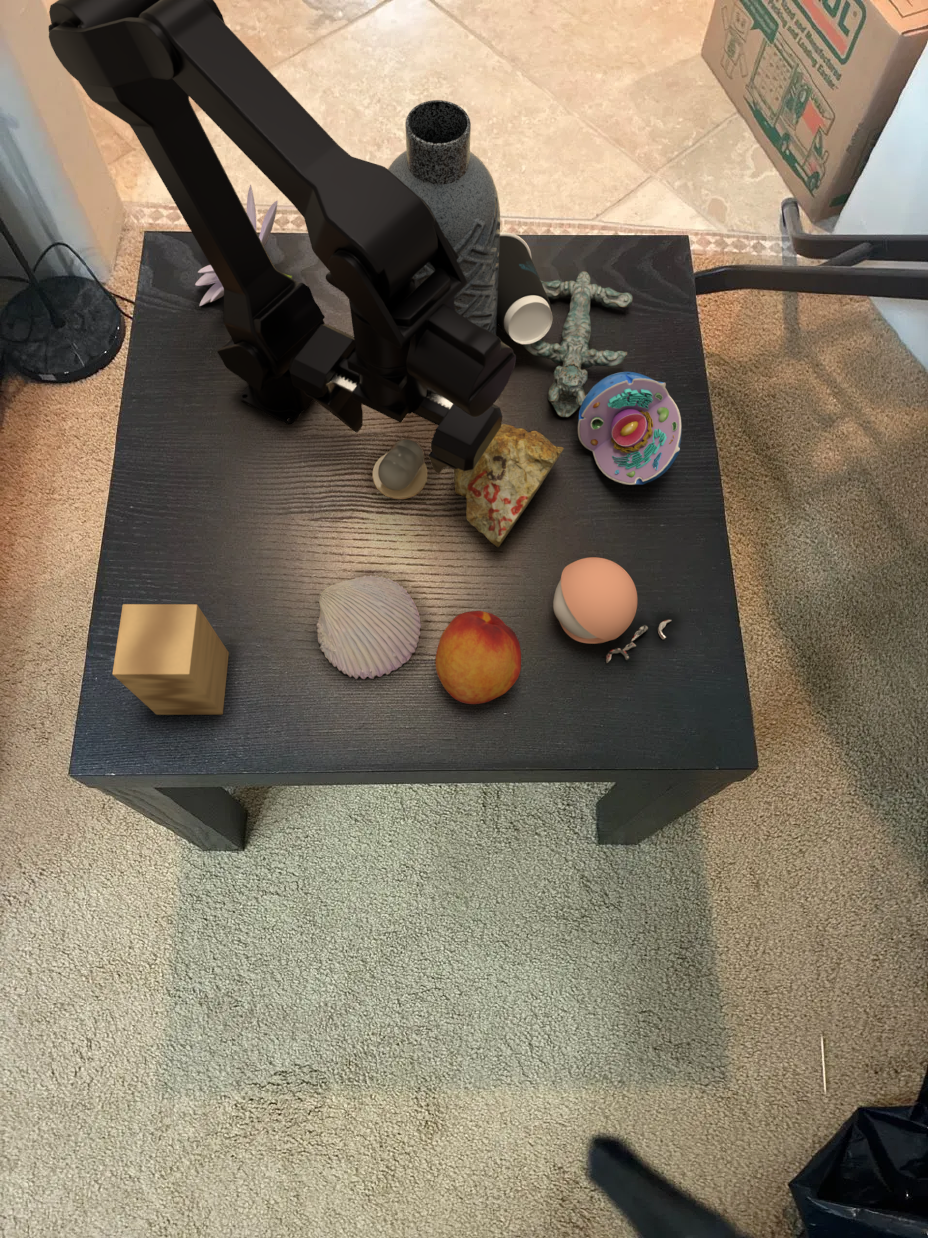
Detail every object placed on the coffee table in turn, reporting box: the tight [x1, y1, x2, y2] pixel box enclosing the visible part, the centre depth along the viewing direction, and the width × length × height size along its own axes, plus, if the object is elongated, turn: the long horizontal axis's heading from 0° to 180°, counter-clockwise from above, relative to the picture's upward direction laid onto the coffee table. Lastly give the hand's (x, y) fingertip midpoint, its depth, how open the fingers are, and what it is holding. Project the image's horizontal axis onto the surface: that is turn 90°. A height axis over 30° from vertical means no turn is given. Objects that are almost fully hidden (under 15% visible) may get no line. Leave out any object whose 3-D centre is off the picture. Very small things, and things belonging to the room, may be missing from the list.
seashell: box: [316, 574, 422, 680], centre depth 81 cm, size 10×6×10 cm
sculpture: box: [522, 270, 633, 418], centre depth 94 cm, size 11×20×5 cm, turn 171°
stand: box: [112, 603, 230, 716], centre depth 75 cm, size 6×6×12 cm
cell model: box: [577, 371, 683, 486], centre depth 86 cm, size 10×12×10 cm
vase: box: [387, 99, 501, 396], centre depth 81 cm, size 12×12×28 cm
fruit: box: [434, 610, 522, 705], centre depth 77 cm, size 8×8×8 cm
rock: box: [453, 423, 565, 548], centre depth 85 cm, size 12×9×10 cm
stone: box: [378, 438, 425, 491], centre depth 87 cm, size 6×4×4 cm, turn 151°
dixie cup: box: [497, 231, 554, 345], centre depth 91 cm, size 8×8×11 cm
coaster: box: [371, 452, 428, 500], centre depth 89 cm, size 6×6×1 cm
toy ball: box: [552, 556, 638, 645], centre depth 80 cm, size 8×8×8 cm
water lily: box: [194, 184, 293, 307], centre depth 95 cm, size 15×15×9 cm
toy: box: [605, 619, 672, 664], centre depth 82 cm, size 1×8×2 cm
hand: (398, 448), depth 84 cm, fingers open, 9 cm apart
